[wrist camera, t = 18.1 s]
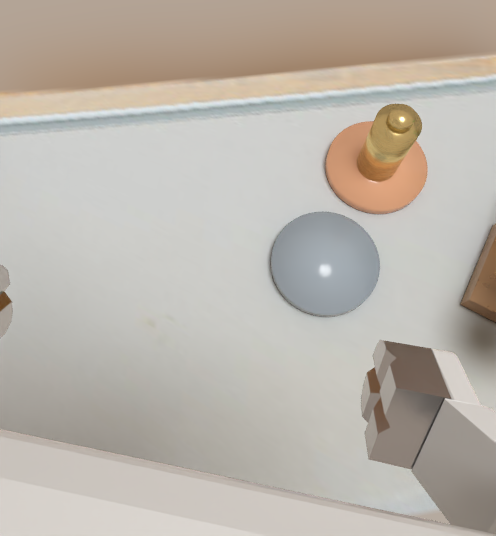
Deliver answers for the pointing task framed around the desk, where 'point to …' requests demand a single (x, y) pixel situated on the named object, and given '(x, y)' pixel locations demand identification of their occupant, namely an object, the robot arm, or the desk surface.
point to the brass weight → (388, 141)
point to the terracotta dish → (364, 190)
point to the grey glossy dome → (325, 264)
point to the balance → (483, 281)
